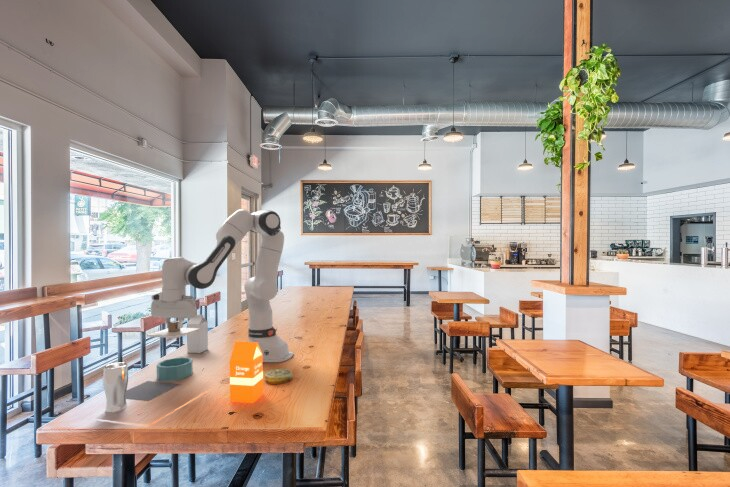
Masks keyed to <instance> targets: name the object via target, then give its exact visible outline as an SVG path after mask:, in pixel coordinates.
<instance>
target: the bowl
mask: <svg viewBox="0 0 730 487" xmlns="http://www.w3.org/2000/svg"><path fill="white" fill-rule="evenodd" d="M193 362H194V361H193V358H190V357H172V358H167V359H163V360H162V361H159V362H157V364H156V379H157V380H158V381H159V382H163V381H164V382H170V381H172V382H173V381H178V380H181V379H186V378H188V377H189V376H191V375H192V374H193V372H194V371H193V370H194V368H193V365H194V363H193Z"/></svg>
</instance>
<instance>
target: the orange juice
mask: <svg viewBox="0 0 730 487" xmlns="http://www.w3.org/2000/svg"><path fill="white" fill-rule="evenodd" d="M263 363H264V362H263V355H262V352H261V350H260V347H259V345H258V343H257V342H249V341H235V342H234V345H233V349H232V353H231V356H230V359H229V387H230V388H229V389H230V390H229V391H230V392H229V394H230V395H229V396H230V397H229V398H230V402H232V403H233V402H235V403H244V404H245V403H247V404H249V403H250V404H254V403H256V401H257V400H259V399H260V398H261V397H262V396H263V395H264V368H263V367H264V366H263V365H264V364H263Z"/></svg>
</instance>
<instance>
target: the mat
mask: <svg viewBox="0 0 730 487" xmlns="http://www.w3.org/2000/svg"><path fill="white" fill-rule="evenodd" d="M181 385H182V384H181V383H174V382H173V383H172V382H166V381H164V382H163V381H155V380H154V381H152V380H147V381H145V382H142V383H140V384H137V385H136V386H133V387H131V388H129V389H127V390H126V400H132V401H133V400H134V401H142V402H143V401H144V402H149V401H152V400H153V399H155V398H157V397H160V396H161V395H163V394H164V393H165V394H166V393H167V392H169V391H171V390H173V389H175V388H176V387H179V386H181Z"/></svg>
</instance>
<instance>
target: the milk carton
mask: <svg viewBox="0 0 730 487" xmlns="http://www.w3.org/2000/svg"><path fill="white" fill-rule="evenodd" d="M208 322H209V321H208V320H206V318H205V317H204V314H197V316H196V317H195V318H191V319H188V321H187V323H186V328H200V330H199V331H196V332H193V333H190V334H187V335H186V339H187V340H186V342H187V343H186V351H187V353H188V354H201V353H202V352H205V351H207V350H209V336H208V335H209V333H208V328H209V327H208V326H209V325H208Z"/></svg>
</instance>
